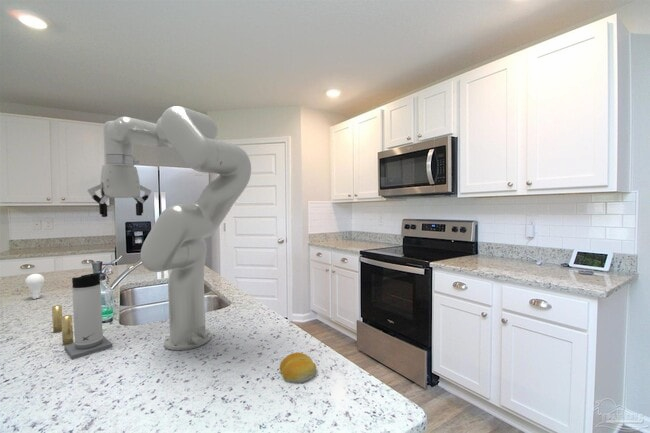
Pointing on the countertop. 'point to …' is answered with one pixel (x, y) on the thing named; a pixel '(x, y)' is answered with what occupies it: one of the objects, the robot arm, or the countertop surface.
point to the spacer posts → (62, 324)
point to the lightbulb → (35, 284)
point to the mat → (78, 353)
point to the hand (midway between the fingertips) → (122, 216)
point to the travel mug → (87, 311)
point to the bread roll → (297, 368)
